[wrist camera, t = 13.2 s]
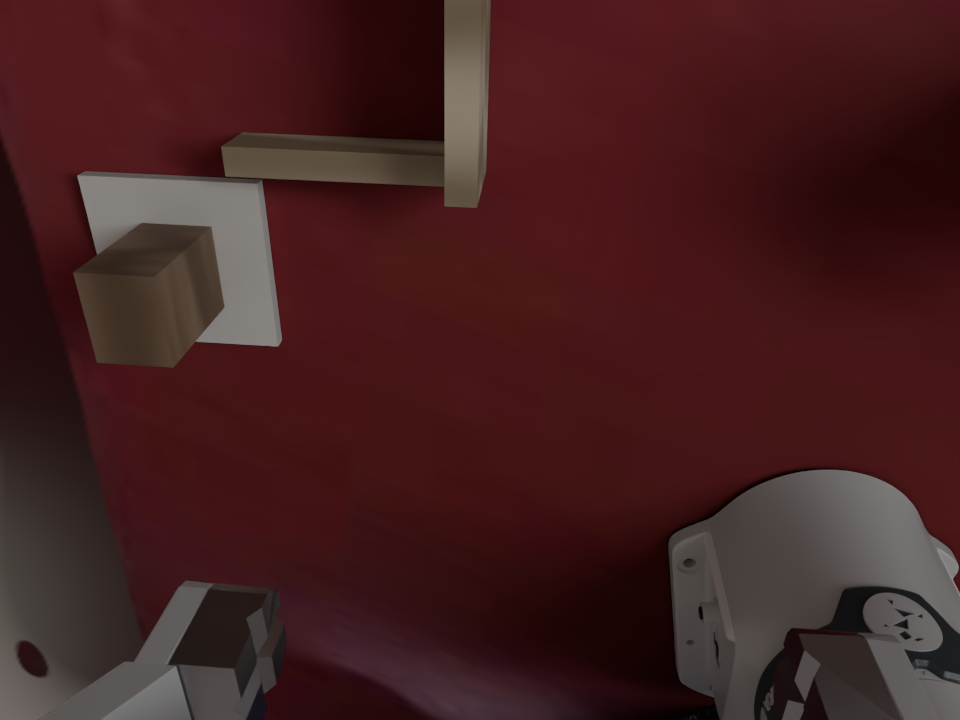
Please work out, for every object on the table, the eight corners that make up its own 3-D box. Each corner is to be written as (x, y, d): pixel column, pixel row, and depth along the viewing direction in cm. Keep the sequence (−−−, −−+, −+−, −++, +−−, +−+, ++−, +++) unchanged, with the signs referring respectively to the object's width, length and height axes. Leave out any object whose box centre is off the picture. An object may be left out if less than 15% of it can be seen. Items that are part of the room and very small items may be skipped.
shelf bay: (486, 171, 40) (476, 207, 34) (246, 160, 40) (201, 194, 35) (496, -204, 32) (486, -230, 26) (196, -209, 32) (130, -236, 27)
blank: (211, 226, 42) (154, 276, 35) (224, 307, 44) (173, 367, 38) (141, 222, 42) (73, 272, 36) (158, 303, 44) (97, 362, 38)
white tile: (282, 340, 46) (278, 346, 45) (124, 330, 46) (117, 336, 46) (261, 179, 41) (257, 183, 40) (84, 171, 41) (77, 175, 41)
